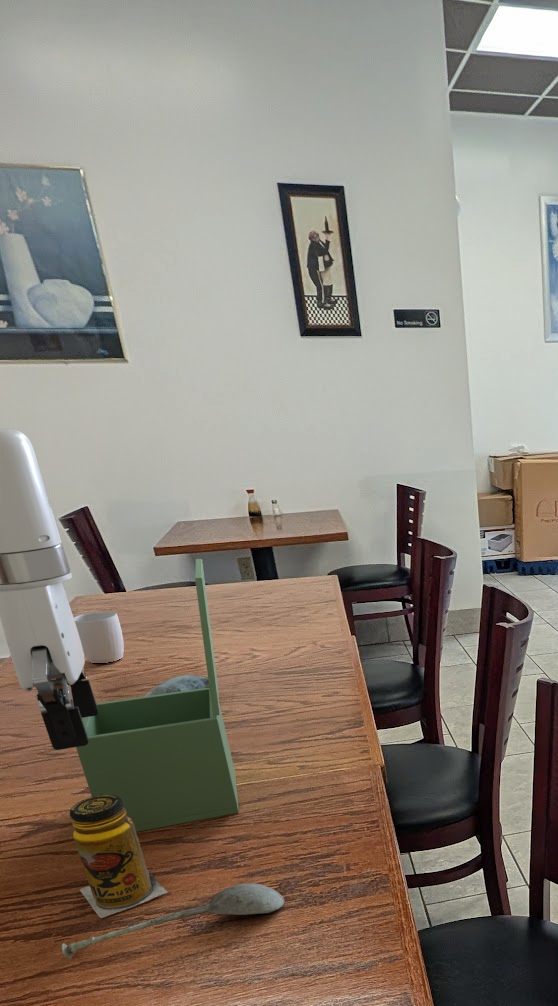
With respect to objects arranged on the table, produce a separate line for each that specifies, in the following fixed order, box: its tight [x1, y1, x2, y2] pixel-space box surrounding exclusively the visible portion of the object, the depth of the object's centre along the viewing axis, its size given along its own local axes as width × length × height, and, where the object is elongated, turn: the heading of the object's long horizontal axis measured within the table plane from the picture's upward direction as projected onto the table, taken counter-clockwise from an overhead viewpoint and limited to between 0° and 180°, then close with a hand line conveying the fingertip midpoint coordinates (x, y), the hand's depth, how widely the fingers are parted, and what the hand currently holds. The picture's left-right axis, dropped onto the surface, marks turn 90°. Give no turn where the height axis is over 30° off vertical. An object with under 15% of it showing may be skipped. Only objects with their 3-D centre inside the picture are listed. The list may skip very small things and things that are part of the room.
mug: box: [73, 611, 125, 664], centre depth 184 cm, size 13×9×10 cm
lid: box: [194, 558, 220, 716], centre depth 110 cm, size 18×15×1 cm
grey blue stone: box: [144, 674, 209, 696], centre depth 155 cm, size 9×12×5 cm
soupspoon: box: [61, 882, 286, 960], centre depth 88 cm, size 22×3×7 cm
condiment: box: [69, 795, 169, 919], centre depth 93 cm, size 7×8×12 cm
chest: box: [75, 688, 240, 833], centre depth 114 cm, size 17×15×14 cm
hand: (77, 731), depth 87 cm, fingers open, 9 cm apart
